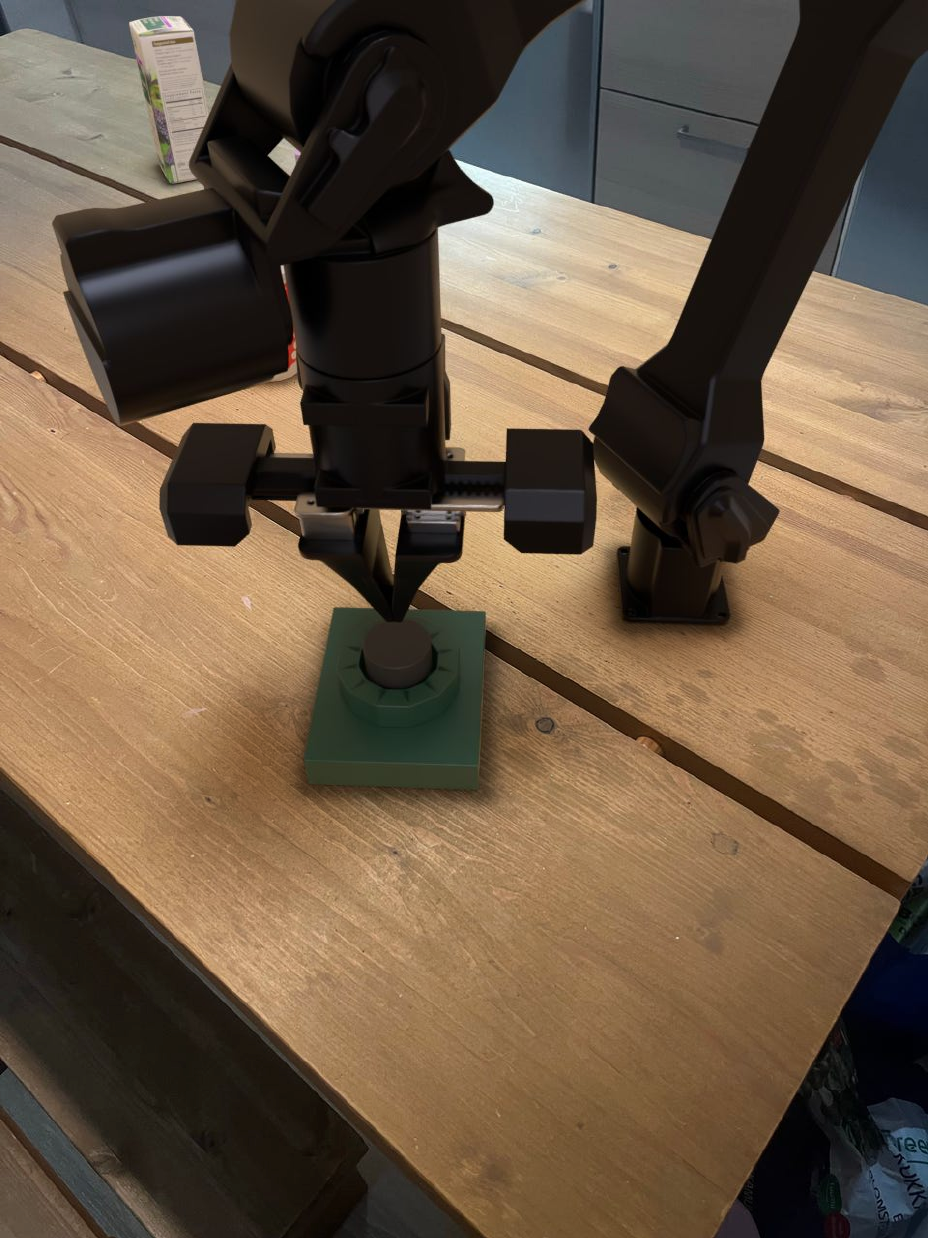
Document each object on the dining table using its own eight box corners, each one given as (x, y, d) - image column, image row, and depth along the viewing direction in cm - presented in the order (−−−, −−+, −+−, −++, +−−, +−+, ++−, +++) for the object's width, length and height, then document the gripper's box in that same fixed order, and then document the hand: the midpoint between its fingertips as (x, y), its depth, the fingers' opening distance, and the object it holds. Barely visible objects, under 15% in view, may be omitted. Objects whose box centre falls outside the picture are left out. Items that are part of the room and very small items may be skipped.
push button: (429, 691, 50) (428, 669, 49) (361, 689, 50) (358, 667, 49) (434, 640, 52) (433, 618, 51) (369, 638, 53) (367, 616, 51)
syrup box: (158, 166, 108) (124, 19, 97) (209, 157, 109) (181, 12, 99) (170, 185, 104) (135, 34, 94) (222, 175, 106) (194, 26, 95)
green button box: (478, 790, 50) (478, 745, 47) (308, 784, 50) (297, 739, 47) (485, 636, 57) (485, 588, 55) (337, 632, 58) (330, 584, 55)
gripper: (598, 249, 42) (573, 517, 54) (185, 245, 43) (247, 510, 55) (613, 388, 35) (580, 667, 46) (111, 380, 36) (200, 656, 47)
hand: (395, 615), depth 49 cm, fingers closed
